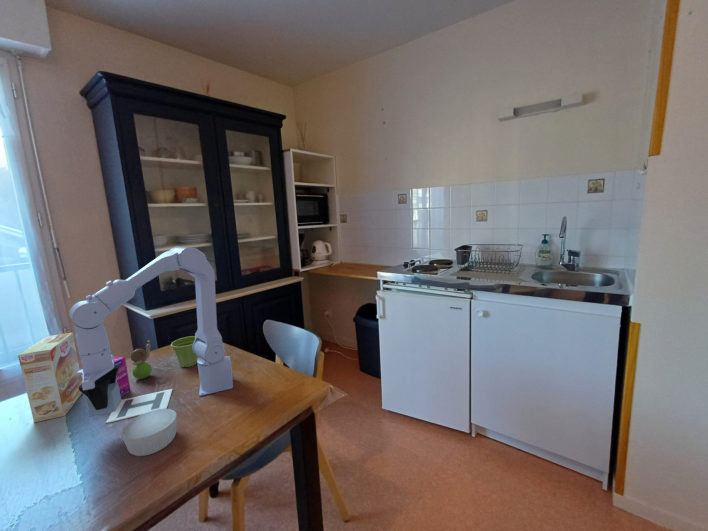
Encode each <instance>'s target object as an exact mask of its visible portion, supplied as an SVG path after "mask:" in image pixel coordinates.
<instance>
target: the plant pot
mask: <svg viewBox="0 0 708 531" xmlns="http://www.w3.org/2000/svg"><path fill="white" fill-rule="evenodd" d="M194 340H195V335H194V336H193V335H191V336H185V337H181V338H178V339H176V340H174V341H172V342H171V344H170V346H171V347H172V348H173V350H174V352H175V356H176V359H177V361H178V365H179V366H180V368H189V367H190V368H191V367H193V366H195V365H196V364H198V363H197V360H198V355H196V354H194V352H193V350H192V346H193V343H194Z"/></svg>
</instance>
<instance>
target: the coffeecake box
mask: <svg viewBox="0 0 708 531" xmlns="http://www.w3.org/2000/svg"><path fill="white" fill-rule="evenodd" d="M75 342H76V341H75V336H74V332H65V333H59V334H54V335H47V336H46V335H45V336H44V337H43V338H42V339H40V340H38V341H37V342H35V343H34V344H33V345H31V346H30V347H29V346H28V348H26V349H25V350H24V351H22V352H21V353H19V354H18V355H17V358H18V361H19V365H20V370H21V374H22V378H23V383H24V386H25V389H26V390H25V391H26V395H27V399H28V403H29V408H30V411H31V412H30V413H31V416H32V419H33V423H38V422H42V421H47V420H48V421H49V420H51V419H57V418H61V417H65V416H66V415H67V414H68V412H69V411H70V410H71V409H72V408H73V406H74V405H75V403H76V402H77V401H78V399H79V398H80V397H81V396H82V394H83V393H82V392H80V391H79V386H80V385H81V383H82V381H83V375H77V372H78V371H79V370H81V368H80V362H79V359H78V358H79V357H78V353H77V349H76V343H75Z"/></svg>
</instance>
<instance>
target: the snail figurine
mask: <svg viewBox="0 0 708 531" xmlns="http://www.w3.org/2000/svg"><path fill="white" fill-rule="evenodd" d="M146 341H147V342H148V343H147V344H146V345H145V348H146V349H143V348H135V350H133V351H132V352H131V355H130V360H131V361H132V363H131V364H132V365H134V367H133V368H132V372H131V373H132V376H133V377H134V378H135V379H138V380H144V379H146V378H148V377H149V376H150V375H151V373H152V370H153V367H152V365H151V364H150V363H149V362H146V361H147V360H148V359H149V357H150V355H151V354H150V353H151V344H150V343H151V341H150V340H146Z"/></svg>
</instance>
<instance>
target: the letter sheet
mask: <svg viewBox="0 0 708 531" xmlns="http://www.w3.org/2000/svg"><path fill="white" fill-rule="evenodd" d="M172 393H173V388H169V389H165V390H164V389H163V390H161V391H156V392H152V393H148V394H142V395H138V396H133V397H127V398H123V399H121V402H120V404H119V406H118V407H117V409H116V411H114V412H110V415H109V417H108V418H107V420H106V421H105V424H110V423H113V422H114V423H115V422H119V421H123V420H127V419H131V418H136V417H138V416H140V415H142V414H144V413H147V412H150V411H153V410H157V409H168V407H169V403H170V399H171V396H172Z"/></svg>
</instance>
